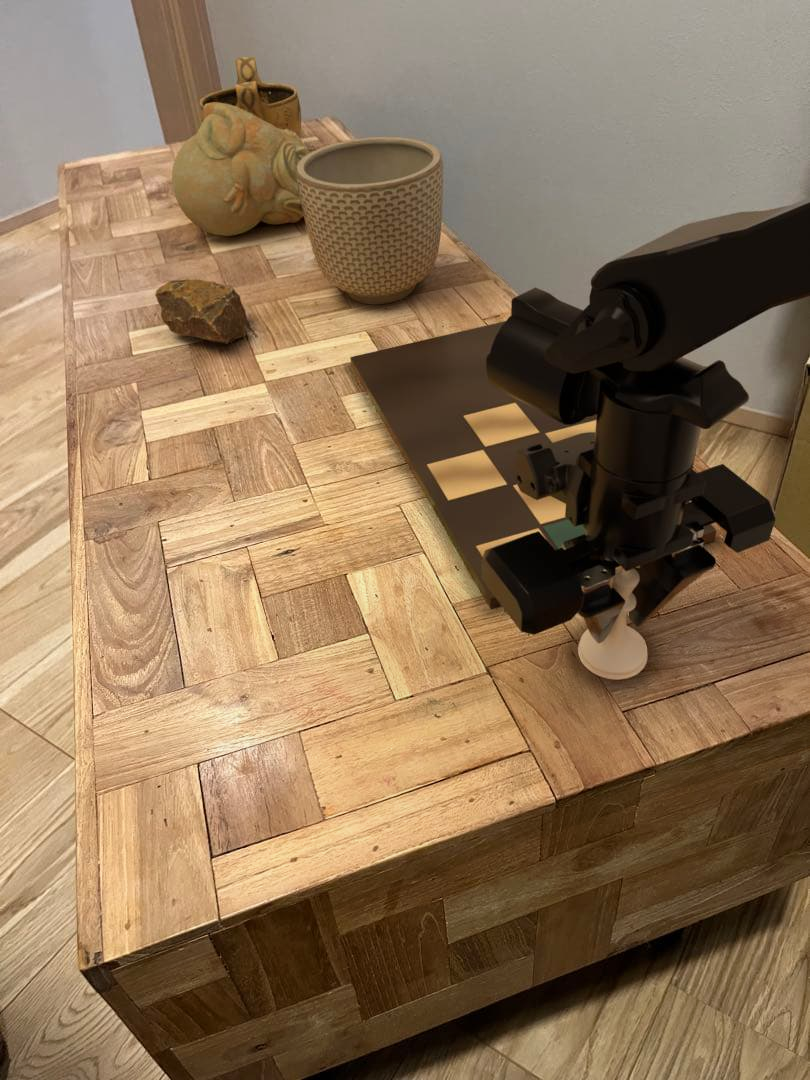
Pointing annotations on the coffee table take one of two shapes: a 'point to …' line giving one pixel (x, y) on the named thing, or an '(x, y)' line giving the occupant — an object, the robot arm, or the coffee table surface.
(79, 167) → the coffee table surface
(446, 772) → the coffee table surface
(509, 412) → the game board
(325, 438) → the coffee table surface
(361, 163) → the planter
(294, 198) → the sculpture
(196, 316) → the rock
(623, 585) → the chess piece
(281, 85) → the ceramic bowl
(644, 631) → the coffee table surface
